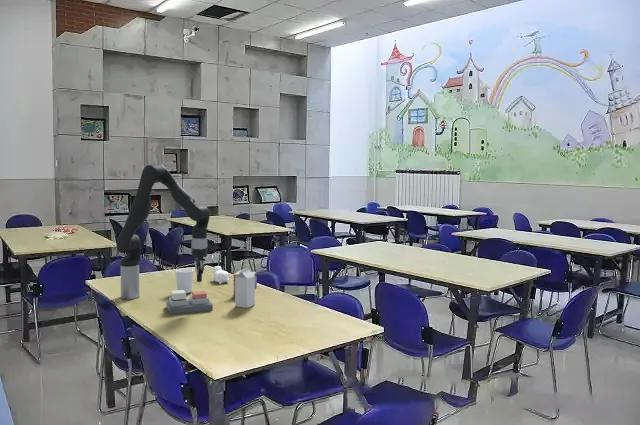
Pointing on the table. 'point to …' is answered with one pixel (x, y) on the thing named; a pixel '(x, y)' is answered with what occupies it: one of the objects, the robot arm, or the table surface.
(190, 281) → the cup
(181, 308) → the key base
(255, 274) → the gray gift bag
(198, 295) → the red key
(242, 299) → the milk carton
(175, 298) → the ivory key
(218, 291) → the table surface
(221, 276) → the white animal figurine
